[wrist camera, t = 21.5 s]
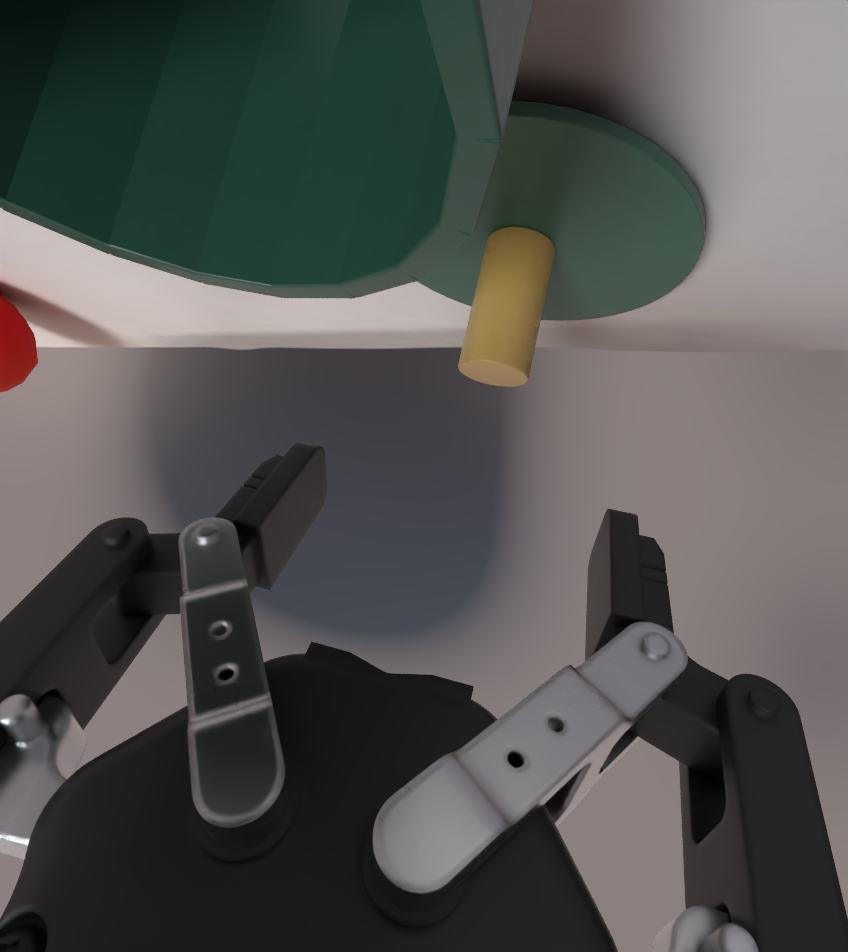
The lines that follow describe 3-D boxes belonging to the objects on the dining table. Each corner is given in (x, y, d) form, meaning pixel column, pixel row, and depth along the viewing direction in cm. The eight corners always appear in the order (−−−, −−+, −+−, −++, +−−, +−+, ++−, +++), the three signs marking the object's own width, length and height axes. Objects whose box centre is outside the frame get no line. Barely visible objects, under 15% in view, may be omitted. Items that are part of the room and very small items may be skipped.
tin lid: (663, 8, 13) (611, 264, 12) (731, 287, 24) (706, 434, 23) (295, 147, 21) (251, 307, 20) (470, 309, 32) (445, 418, 31)
